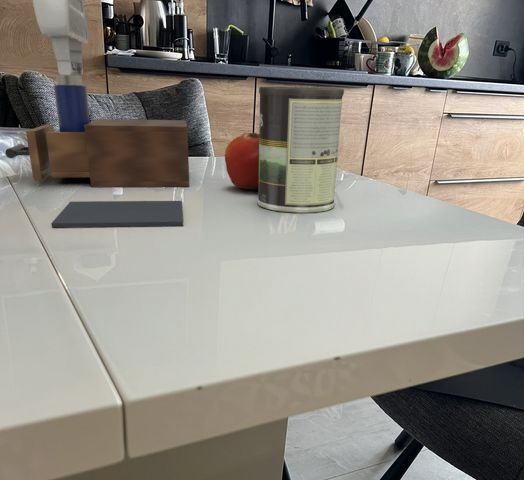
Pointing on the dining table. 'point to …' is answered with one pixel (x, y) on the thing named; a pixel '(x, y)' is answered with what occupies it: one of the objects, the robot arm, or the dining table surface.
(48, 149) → the drawer
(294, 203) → the coffee can
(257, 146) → the tomato
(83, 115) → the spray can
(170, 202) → the mat
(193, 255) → the dining table surface
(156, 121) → the cabinet
